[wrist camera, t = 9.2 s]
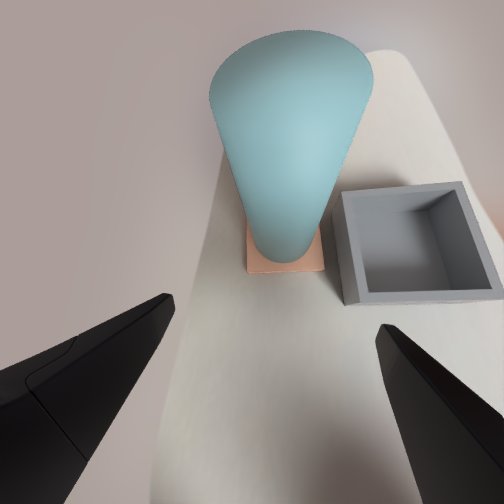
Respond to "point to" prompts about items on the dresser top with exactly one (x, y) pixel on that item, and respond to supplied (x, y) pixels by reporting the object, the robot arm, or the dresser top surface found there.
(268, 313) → the dresser top surface
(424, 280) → the slate tray
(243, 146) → the teal post
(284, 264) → the terracotta coaster
